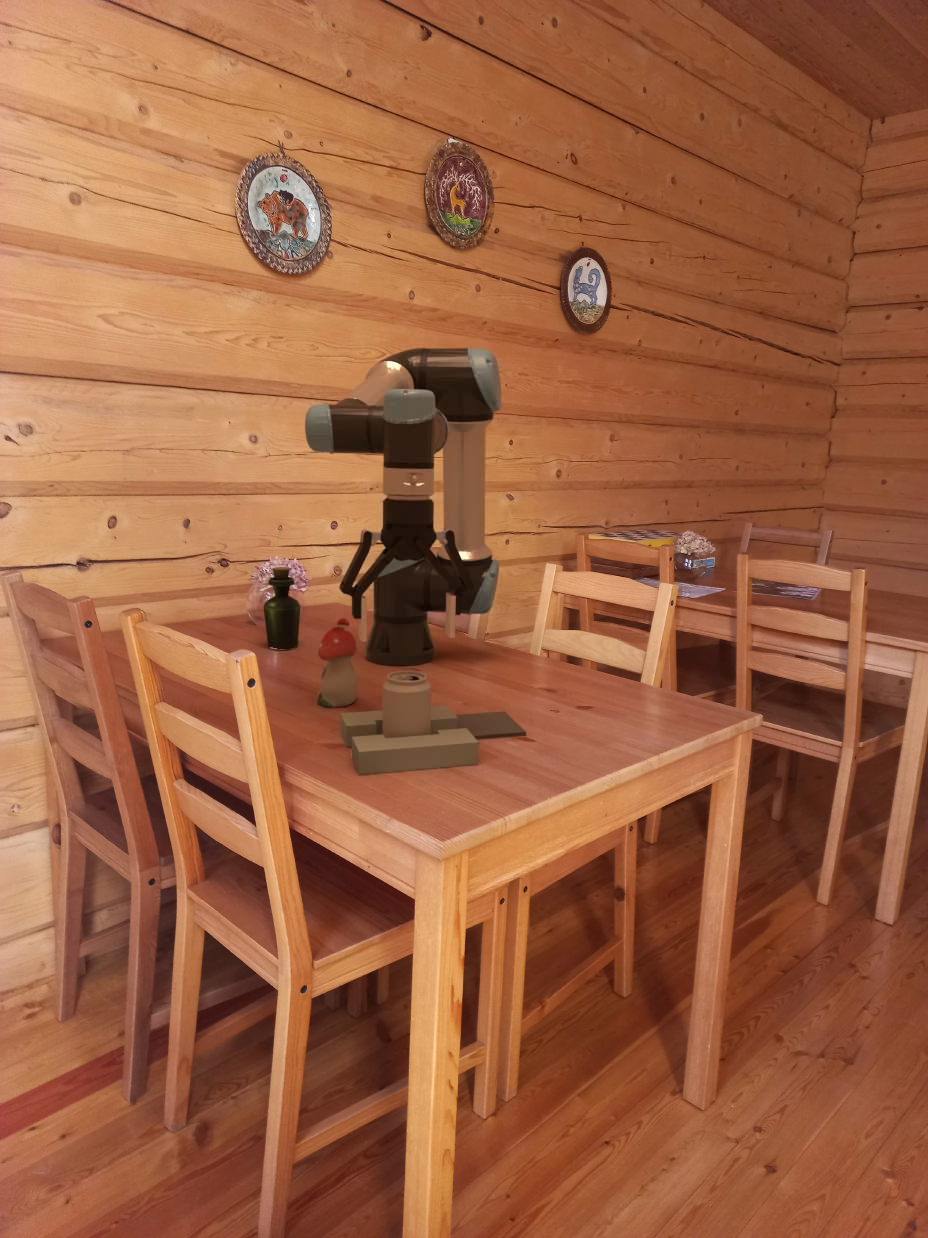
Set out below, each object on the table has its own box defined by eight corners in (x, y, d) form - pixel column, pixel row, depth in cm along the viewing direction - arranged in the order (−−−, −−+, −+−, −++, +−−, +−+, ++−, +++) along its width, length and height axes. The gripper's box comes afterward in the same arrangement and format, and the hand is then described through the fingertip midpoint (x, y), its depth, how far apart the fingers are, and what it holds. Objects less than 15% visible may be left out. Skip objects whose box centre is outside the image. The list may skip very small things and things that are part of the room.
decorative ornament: (340, 693, 167) (339, 615, 164) (368, 699, 164) (368, 619, 160) (307, 705, 159) (306, 624, 156) (336, 712, 156) (336, 628, 153)
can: (436, 754, 137) (437, 679, 134) (389, 759, 134) (389, 683, 132) (422, 738, 144) (423, 666, 141) (377, 743, 141) (377, 670, 139)
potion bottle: (271, 653, 195) (269, 572, 191) (259, 645, 201) (257, 566, 198) (306, 649, 199) (305, 569, 195) (294, 641, 205) (292, 564, 202)
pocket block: (340, 733, 145) (340, 713, 144) (446, 725, 150) (447, 705, 149) (359, 775, 128) (359, 752, 127) (478, 764, 133) (478, 742, 132)
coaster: (444, 719, 153) (444, 715, 153) (504, 714, 156) (504, 711, 156) (462, 740, 143) (462, 736, 143) (526, 735, 146) (526, 731, 146)
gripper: (327, 499, 124) (328, 647, 128) (496, 499, 131) (492, 639, 135) (320, 495, 131) (321, 635, 135) (481, 495, 138) (478, 629, 142)
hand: (407, 638), depth 135 cm, fingers open, 13 cm apart
